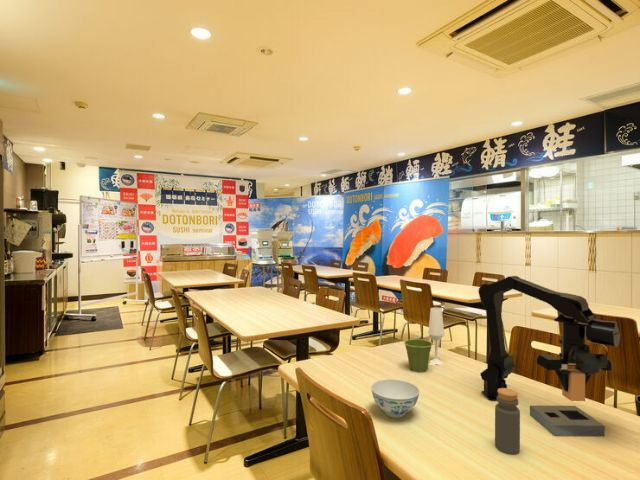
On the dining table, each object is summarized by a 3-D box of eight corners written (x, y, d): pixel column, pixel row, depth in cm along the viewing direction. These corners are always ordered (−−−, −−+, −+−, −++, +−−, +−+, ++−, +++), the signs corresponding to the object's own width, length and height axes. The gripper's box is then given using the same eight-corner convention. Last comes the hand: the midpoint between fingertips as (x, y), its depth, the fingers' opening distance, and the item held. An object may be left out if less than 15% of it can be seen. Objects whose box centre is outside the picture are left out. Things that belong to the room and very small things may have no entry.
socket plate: (554, 435, 101) (554, 425, 101) (529, 414, 113) (529, 405, 113) (604, 436, 101) (604, 425, 101) (575, 415, 113) (575, 405, 113)
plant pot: (410, 362, 161) (410, 337, 161) (436, 368, 154) (436, 341, 154) (399, 370, 151) (399, 343, 151) (427, 376, 144) (427, 348, 144)
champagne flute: (444, 366, 156) (444, 310, 156) (427, 364, 158) (427, 309, 158) (444, 361, 162) (444, 307, 162) (428, 359, 165) (428, 307, 164)
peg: (571, 400, 105) (571, 373, 105) (562, 394, 109) (562, 368, 109) (585, 401, 105) (585, 373, 105) (575, 395, 109) (575, 368, 109)
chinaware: (420, 405, 119) (420, 382, 119) (417, 428, 105) (417, 402, 105) (375, 399, 124) (375, 376, 124) (366, 420, 110) (366, 394, 110)
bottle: (490, 442, 98) (490, 387, 98) (511, 441, 99) (511, 386, 98) (503, 455, 92) (503, 396, 92) (524, 454, 93) (525, 395, 93)
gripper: (559, 346, 99) (559, 403, 99) (628, 347, 99) (628, 404, 99) (535, 335, 110) (535, 386, 110) (597, 336, 110) (597, 387, 110)
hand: (573, 391), depth 107 cm, fingers closed on peg, 4 cm apart
